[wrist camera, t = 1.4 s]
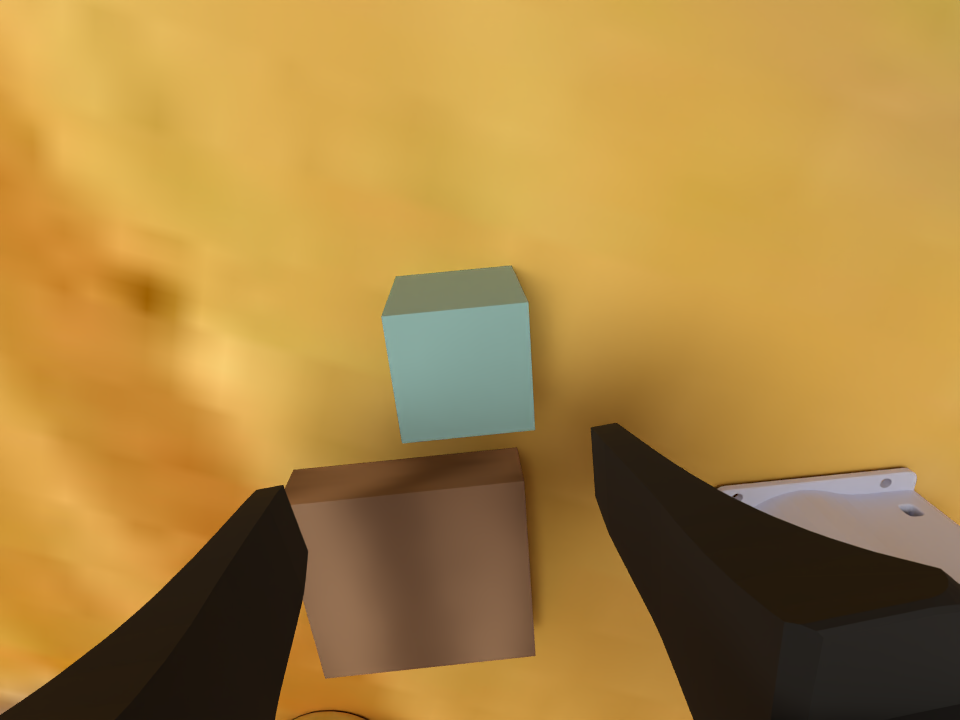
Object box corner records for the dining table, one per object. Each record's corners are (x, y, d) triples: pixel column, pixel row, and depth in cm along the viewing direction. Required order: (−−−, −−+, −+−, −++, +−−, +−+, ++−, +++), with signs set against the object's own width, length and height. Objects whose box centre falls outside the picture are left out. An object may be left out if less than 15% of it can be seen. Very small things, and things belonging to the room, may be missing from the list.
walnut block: (515, 442, 25) (524, 481, 22) (527, 605, 29) (535, 655, 26) (295, 464, 25) (276, 506, 22) (337, 625, 29) (325, 678, 26)
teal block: (511, 265, 21) (528, 302, 17) (517, 370, 23) (535, 429, 18) (396, 276, 21) (381, 316, 17) (411, 380, 23) (402, 443, 18)
